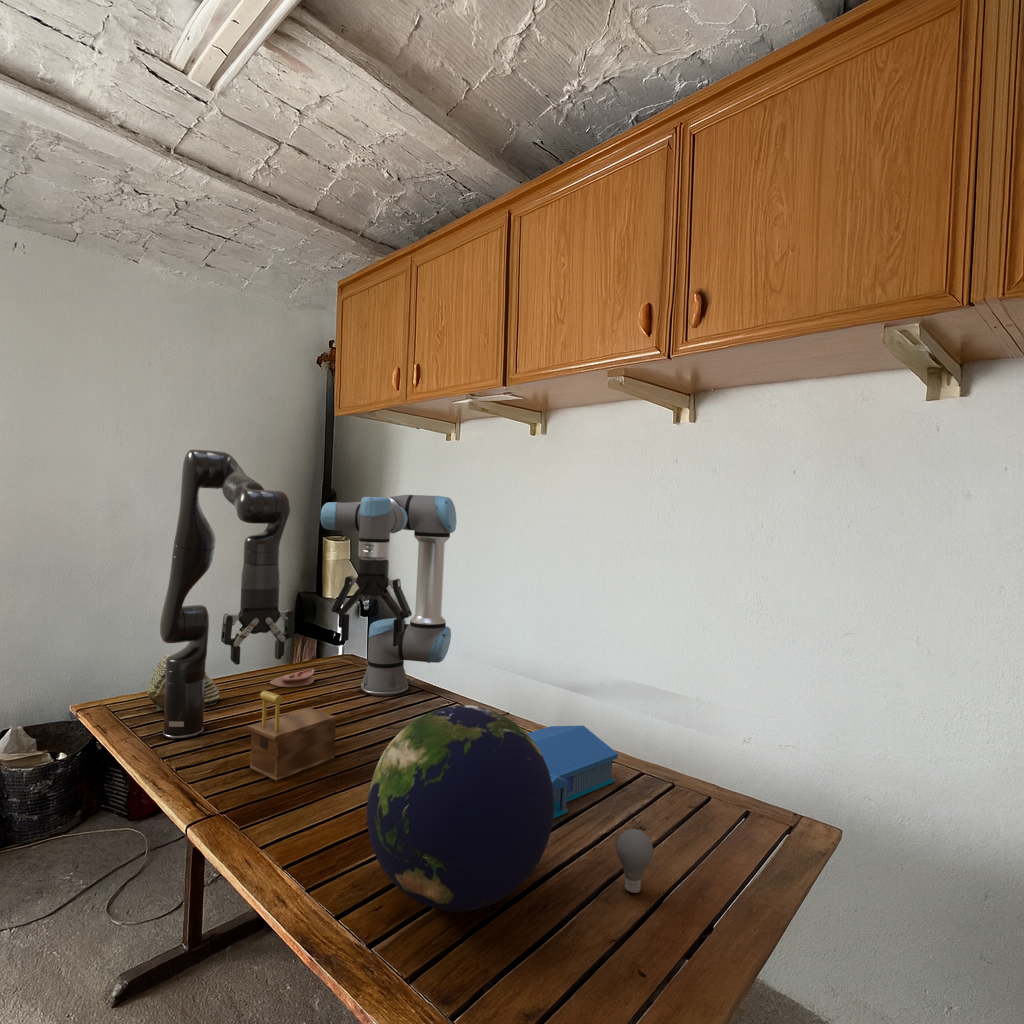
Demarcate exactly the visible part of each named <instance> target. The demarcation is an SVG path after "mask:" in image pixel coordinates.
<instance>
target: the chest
mask: <svg viewBox="0 0 1024 1024" xmlns="http://www.w3.org/2000/svg"><path fill="white" fill-rule="evenodd" d="M336 723H337V722H336V721H333V722H330V723H327V724H324V725H321V726H318V727H315V728H312V729H309V730H306V731H303V732H300V733H297V734H294V735H291V736H288V737H285V738H282V739H279V740H276V741H274V740H272V739H269V738H267V737H264V736H262V735H259V734H257V733H254V732H252V731H250V734H251V735H250V736H251V737H250V759H249V761H250V763H249V769H251V770H253V771H255V772H257V773H259V774H261V775H264V776H266V777H268V778H270V779H272V780H275V781H279V780H283V779H284V778H288V777H290V776H292V775H295V774H298V773H300V772H303V771H306V770H307V769H310V768H313V767H315V766H318V765H320V764H322V763H326V762H328V761H330V760H333V759H335V753H336V752H335V750H336V749H335V747H336Z"/></svg>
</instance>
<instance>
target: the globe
mask: <svg viewBox="0 0 1024 1024" xmlns="http://www.w3.org/2000/svg"><path fill="white" fill-rule="evenodd" d="M527 733H528V732H526V731H525V730H524V729H523V728H522V727H521V726H520V725H518V723H516V722H514V721H513V720H512V719H510V718H508V717H507V716H505V715H503V714H501V713H499V712H497V711H494V710H493V709H489V708H485V707H482V706H477V705H469V704H468V705H467V704H465V705H452V706H446V707H442V708H438V709H435V710H432V711H429V712H428V713H425V714H423V715H422V716H419V717H417V718H416V719H415V720H413V721H411V722H409V724H407V725H406V726H405V727H404V728H402V729H401V731H399V733H398V734H396V736H395V737H394V738H393V739H392V740H391V741H390V742H389V743H388V745H387V747H385V749H384V751H382V754H381V755H380V758H379V760H378V762H377V763H376V766H375V769H374V771H373V774H372V777H371V780H370V783H369V787H368V788H369V789H368V794H367V801H366V822H367V832H368V836H369V840H370V844H371V847H372V851H373V853H374V855H375V857H376V859H377V861H378V864H379V865H380V867H381V869H382V870H383V872H384V873H385V875H386V876H387V877H388V878H389V880H390V881H391V883H393V884H394V885H395V886H396V887H397V888H398V890H400V891H401V892H402V893H404V894H405V895H406V896H408V897H409V898H410V899H412V900H413V901H415V902H417V903H419V904H421V905H424V906H426V907H428V908H429V907H430V908H431V909H436V910H439V911H445V912H455V913H456V912H471V911H475V910H479V909H483V908H486V907H489V906H491V905H494V904H496V903H499V902H500V901H502V900H503V899H505V898H506V897H508V896H509V895H511V894H512V893H514V892H515V891H516V890H517V889H518V888H519V887H520V886H522V885H523V884H524V882H526V880H527V879H528V878H529V877H530V875H532V873H533V871H534V870H535V869H536V867H537V866H538V864H539V863H540V860H541V859H542V857H543V855H544V853H545V850H546V848H547V846H548V843H549V841H550V837H551V833H552V827H553V823H554V819H553V816H554V794H553V786H552V782H551V777H550V774H549V770H548V767H547V765H546V763H545V760H544V757H543V755H542V753H541V752H540V750H539V748H538V747H537V745H536V744H535V742H534V741H533V740H532V739H531V737H530V736H529V735H528V734H527Z"/></svg>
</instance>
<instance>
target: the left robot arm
mask: <svg viewBox="0 0 1024 1024" xmlns="http://www.w3.org/2000/svg"><path fill="white" fill-rule="evenodd" d="M181 469H182V471H181V483H180V500H179V509H178V510H179V512H178V518H177V524H176V530H175V535H174V542H173V546H172V547H173V548H172V554H171V563H170V564H171V565H170V572H169V579H168V584H167V590H166V594H165V599H164V603H163V608H162V611H161V616H160V621H159V636H160V638H161V640H162V641H163V642H164V643H166V644H178V643H188V644H187V645H186V646H184V647H183V648H182V649H180V650H179V651H177V652H175V653H173V654H170V655H171V656H169V657H168V658H167V660H166V674H165V705H164V710H163V731H162V737H164V738H166V739H169V740H185V739H190V738H191V739H192V738H194V737H197V736H199V735H202V734H203V732H204V730H205V729H204V722H205V721H204V718H205V706H204V693H205V672H206V664H207V663H206V660H207V656H208V642H209V633H210V613H209V610H208V609H207V607H206V606H205V605H203V604H194V605H193V604H192V605H184V603H185V600H186V598H187V596H188V594H189V593H190V591H191V590H192V588H193V587H194V586H195V585H196V584H197V583H198V582H199V581H200V580H201V578H202V577H204V576H205V574H206V573H207V572H208V571H209V569H210V567H211V566H212V564H213V559H214V554H215V548H216V540H217V539H216V535H215V532H214V530H213V528H212V526H211V524H210V522H209V520H208V519H207V517H206V515H205V514H204V512H203V510H202V508H201V505H200V504H201V503H200V498H199V496H200V495H199V493H200V489H215V490H217V489H218V490H219V489H221V490H222V495H223V496H224V498H225V499H226V501H228V502H229V503H230V504H231V505H232V506H233V507H234V508H235V511H236V516H237V518H238V519H239V520H240V521H242V522H243V523H245V524H253V525H254V524H259V525H260V524H262V525H264V524H265V525H266V527H265V529H264V530H263V531H262V532H260V533H255V534H252V535H248V536H247V537H246V538H245V539H244V542H243V543H244V544H243V565H242V570H241V579H240V580H241V582H240V585H241V586H240V604H239V605H240V607H239V609H240V610H239V612H238V614H230V613H225V614H224V615H223V618H222V627H221V636H220V641H221V643H222V644H224V645H225V646H230V657H229V658H230V661H231V662H232V663H233V664H234V665H235V666H237V665H240V664H241V646H240V645H241V644H242V643H243V641H244V640H245V639H246V638H247V637H248V636H249V635H250V634H251V635H257V634H260V633H261V634H267V633H269V632H270V633H271V634H272V635H273V637H274V638H275V639H276V640H275V641H274V658H275V659H276V660H281V659H282V657H284V655H285V643H286V641H287V640H289V639H293V638H294V636H295V619H294V618H295V617H294V615H295V614H294V611H293V610H290V609H288V608H285V609H284V610H279V605H280V584H281V573H280V572H281V571H280V556H281V555H280V553H281V552H280V551H281V550H280V549H281V543H282V539H283V534H284V531H285V529H286V526H287V524H288V520H289V518H290V514H291V501H290V498H289V497H288V495H287V494H286V493H285V492H284V491H281V490H269V489H268V490H265V488H264V487H263V486H262V485H261V484H260V483H259V482H257V481H256V480H254V479H253V478H251V477H250V476H248V475H247V474H246V472H245V471H244V469H243V468H242V467H241V465H240V464H239V463H238V461H237V460H236V459H235V458H234V456H232V455H231V454H230V453H228V452H224V451H219V450H210V449H209V450H208V449H195V448H193V449H190V450H188V451H187V452H186V454H185V456H184V459H183V463H182V468H181ZM280 618H281V620H282V621H283V628H284V629H283V632H282V631H281V630H280V628H279V627H278V625H276V623H277V622H278V621H279V620H280ZM237 621H239V623H240V626H239V627H238V629H237V630H236V632H235V634H234V635H233V637H232V633H233V631H232V630H233V626H235V625H236V622H237Z"/></svg>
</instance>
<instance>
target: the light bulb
mask: <svg viewBox="0 0 1024 1024" xmlns="http://www.w3.org/2000/svg"><path fill="white" fill-rule="evenodd" d="M615 849H616V854H617V857H618V859H619V861H620V863H621V865H622V867H623V873H624V874H623V875H624V876H625V878H624V888H625V890H627V891H628V892H630V893H634V894H635V893H639V892H640V891H641V889H642V887H641V886H642V879H643V877H644V875H645V871H646V868H647V867H648V866H649V864H650V863H651V861H652V859H653V855H654V847H653V843H652V841H651V838H649V836H648V835H647V834H646V833H645V832H643V831H642V830H641V829H636V828H629V829H627V830H625V831H623V832H622V833H621V834H620V835H619V837H618V839H617V841H616V847H615Z"/></svg>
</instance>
